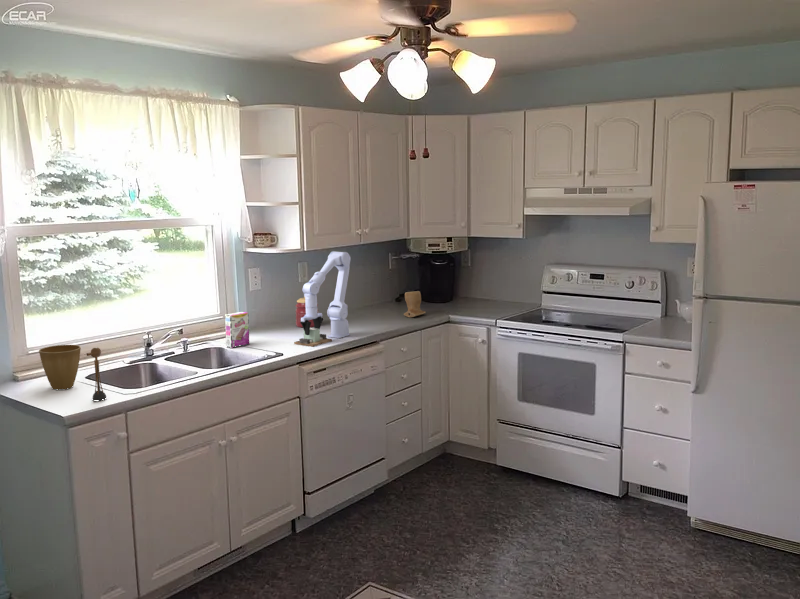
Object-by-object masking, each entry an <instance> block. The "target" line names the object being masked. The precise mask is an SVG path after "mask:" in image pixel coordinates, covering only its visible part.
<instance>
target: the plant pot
mask: <svg viewBox="0 0 800 599" xmlns="http://www.w3.org/2000/svg"><path fill="white" fill-rule="evenodd" d="M81 348H82V346H80V345H77V344H61V345H60V344H59V345H58V344H57V345H50V346H46V347H43V348H40V349H39V350H38V353H39V357H40V361H41V364H42V367H43V371H44V374H45V376H46V378H47V380H48V383H49V385H50V386H51V388H53V389H52V390H54V389H58V390H57V391H60V390H59V389H65V390H68V389H67V388H69V389H72V388H73V387H74V385H75V381H76V379H77V378H76V377H77V375H78V370H79V365H80V360H81V358H80V357H81V350H82V349H81ZM72 386H73V387H72ZM71 387H72V388H71Z"/></svg>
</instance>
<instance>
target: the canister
mask: <svg viewBox="0 0 800 599" xmlns="http://www.w3.org/2000/svg"><path fill="white" fill-rule="evenodd" d="M296 302H297V303H296V304H295V306H294V307H295V325H296V327H298V328H303V326H302V325H301V323H300V321H301V318H302V317H304V316H305V315H306V306H305V296H304V295H303V297H300V298H298V299H297V300H296ZM318 306H319V303H317V313H319V308H318ZM308 321H309V322H311V325H310V328H314V322H313V319H311V320H308Z"/></svg>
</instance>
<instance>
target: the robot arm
mask: <svg viewBox="0 0 800 599" xmlns="http://www.w3.org/2000/svg"><path fill="white" fill-rule="evenodd" d="M351 259H352V258H351V254H349V253H348V252H347V251H335V250H332V251H331V252H330V253H329V255H328V256H327V260H326V261H325V263H324V265H323V266H322V268H321V269H320V270H319V271H316V272H314V274H313V276H312V277H311V278H310V279H309V281H308V282H305V283H304V284H303V286H302V289H301V290H302V292H303V297H304V296H305V306H306V315H305V316H304V317H302V318H301V321H300V323H301V325H302V326H303V327H302V328H303V332H304V331H305V335H310V328H311V327H310V325H311V322H309V321H308V320H311V319H313V322H314V327H313V328H316V329H321V325H322V323H323V321H324V317H323V313H322V312H318V313H317V307H318V306H317V304H318V298H317V295H318V294H319V293H320V287H321V286H322V284H324V281H325V280H326V276H327V274H328V273H329V272H330V271H331V270H332V269H333V268H334V267H335V268H336V269H337V270H338V273H337V278H336V279H337V280H336V284H335V285H336V286H335V291H334V296H333V297H334V298H333V300H332V301H331V302H330V303H329V306H328V307H327V308H328V309H327V310H326V314H327V317H328V318H329V320H330V334H329V335H327V337H328V338H335V339H337V338H338V339H341V338H345V337H347V336H348V337H349V336H350V335H351V334H350V333H349V332H350V329H349V327H350V325H349V321H348V319H347V317H348V312H349V310H348V304H346V302H345V301H346V300H345V298H346V293H347V288H348V281H349V275H350V266H351Z"/></svg>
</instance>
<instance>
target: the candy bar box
mask: <svg viewBox="0 0 800 599" xmlns="http://www.w3.org/2000/svg"><path fill="white" fill-rule="evenodd" d="M249 324H250V320H249V312H247V311H238V312H233V313H232V312H231V313H226V314H224V327H225V329H224V330H225V347H226V346H227V347H226V348H228V347H230V348H229V349H234V348H233V347H235V346H239V345H244V346H247V345H246V344H249V345H250V325H249ZM235 348H236V347H235Z"/></svg>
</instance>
